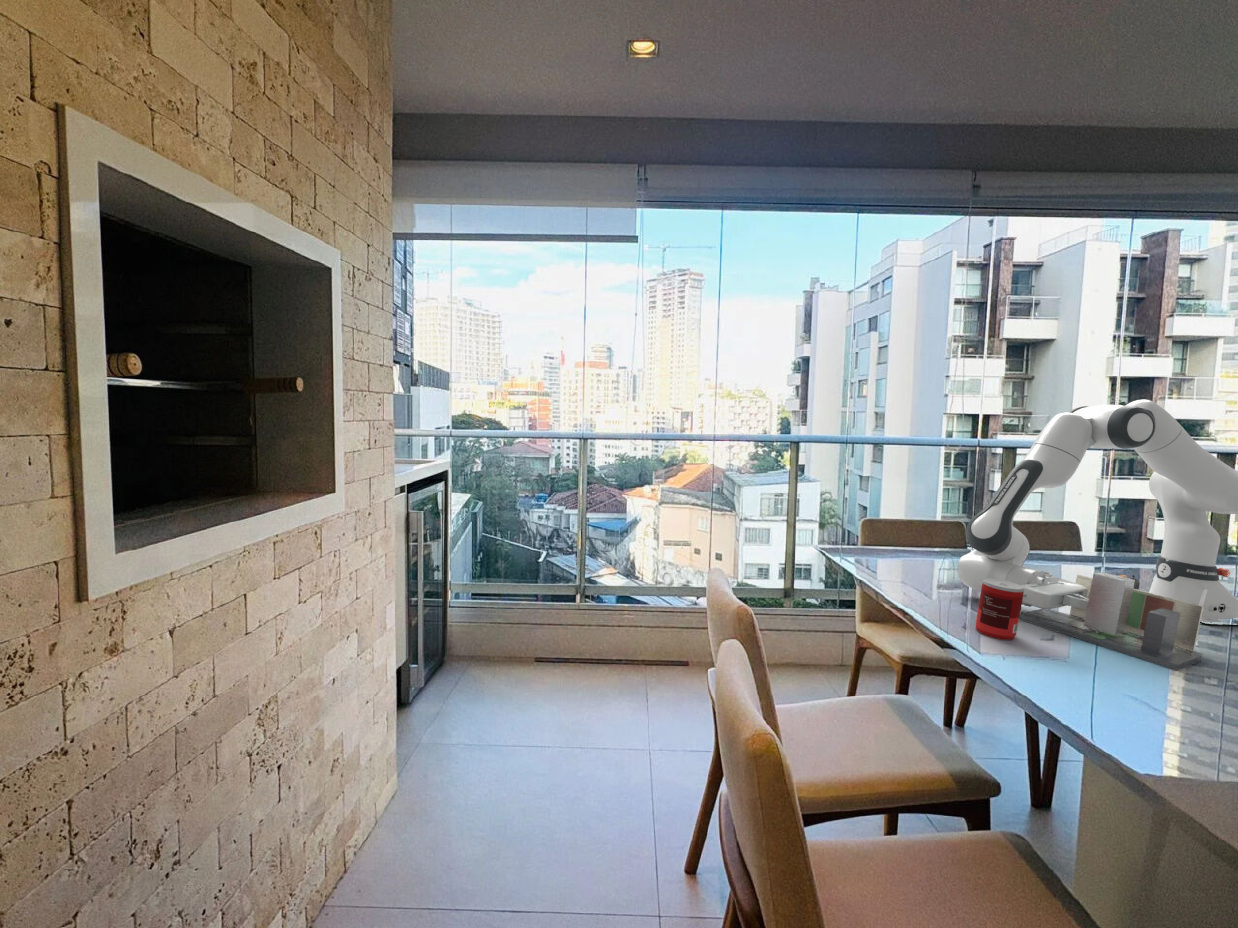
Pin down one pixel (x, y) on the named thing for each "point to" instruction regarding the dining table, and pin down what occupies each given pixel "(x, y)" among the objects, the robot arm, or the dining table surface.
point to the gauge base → (1136, 628)
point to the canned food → (999, 608)
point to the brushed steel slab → (1109, 603)
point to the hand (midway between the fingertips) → (1092, 605)
